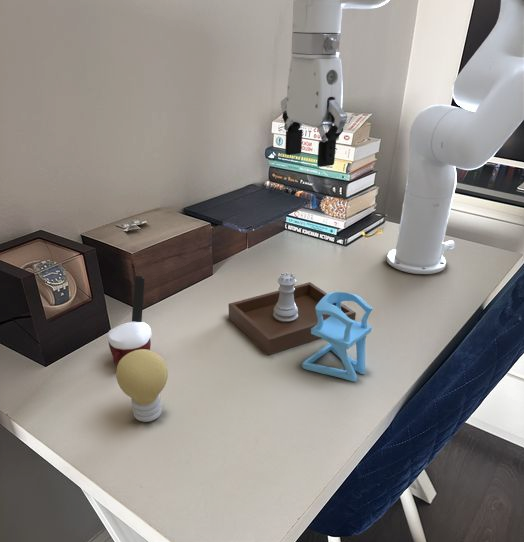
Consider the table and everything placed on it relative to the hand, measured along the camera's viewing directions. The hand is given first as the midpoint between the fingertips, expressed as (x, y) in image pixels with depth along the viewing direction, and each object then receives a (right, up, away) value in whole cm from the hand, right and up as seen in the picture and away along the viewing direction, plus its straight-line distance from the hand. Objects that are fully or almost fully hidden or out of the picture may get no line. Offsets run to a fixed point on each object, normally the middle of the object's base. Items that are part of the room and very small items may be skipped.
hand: (308, 159), depth 90 cm
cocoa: (-28, -35, -9) cm, 46 cm away
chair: (+3, -36, -11) cm, 38 cm away
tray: (-3, -29, 0) cm, 29 cm away
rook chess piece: (-4, -28, 0) cm, 28 cm away
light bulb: (-24, -43, -21) cm, 53 cm away
